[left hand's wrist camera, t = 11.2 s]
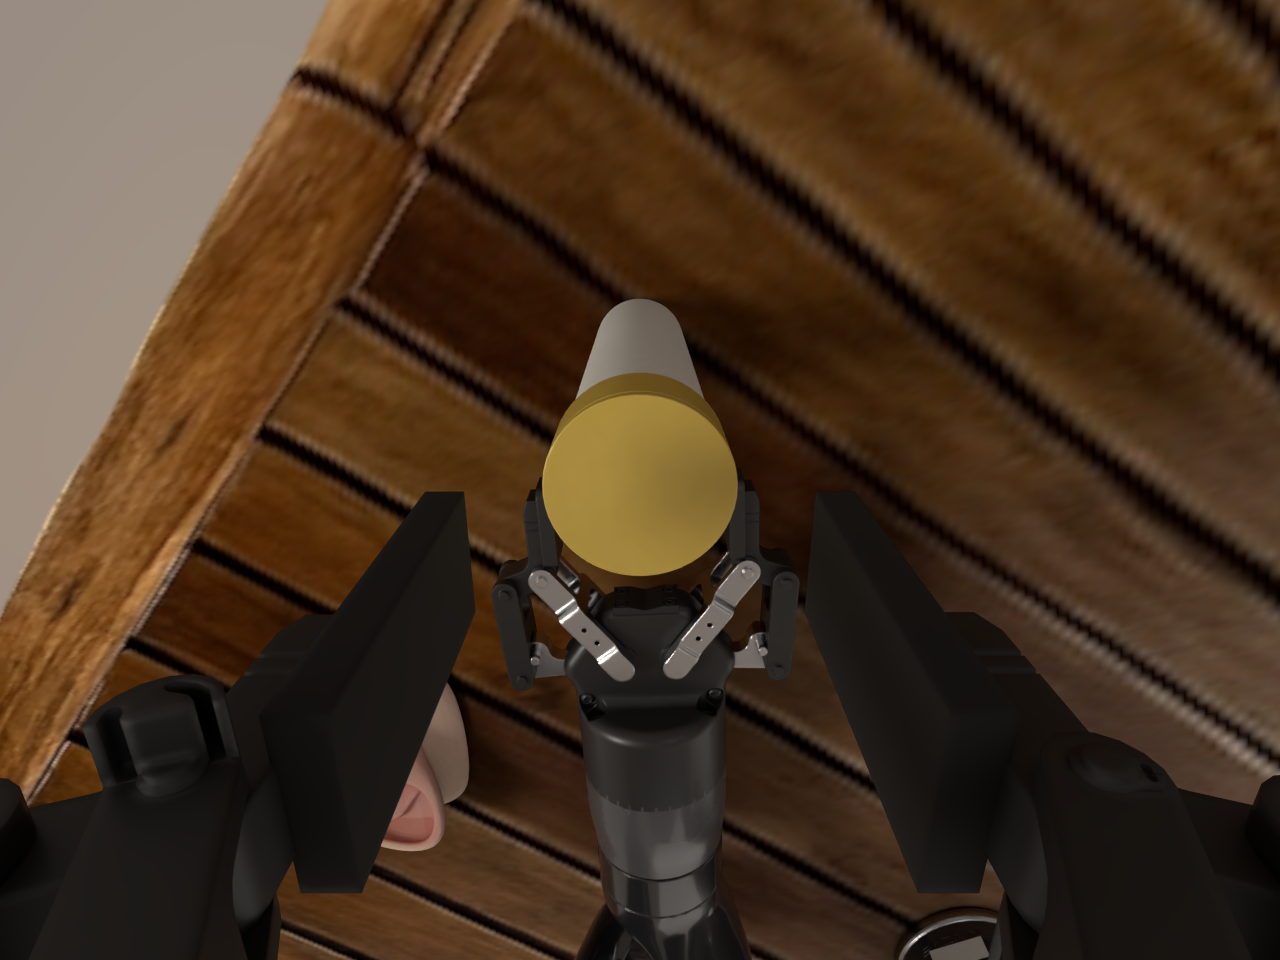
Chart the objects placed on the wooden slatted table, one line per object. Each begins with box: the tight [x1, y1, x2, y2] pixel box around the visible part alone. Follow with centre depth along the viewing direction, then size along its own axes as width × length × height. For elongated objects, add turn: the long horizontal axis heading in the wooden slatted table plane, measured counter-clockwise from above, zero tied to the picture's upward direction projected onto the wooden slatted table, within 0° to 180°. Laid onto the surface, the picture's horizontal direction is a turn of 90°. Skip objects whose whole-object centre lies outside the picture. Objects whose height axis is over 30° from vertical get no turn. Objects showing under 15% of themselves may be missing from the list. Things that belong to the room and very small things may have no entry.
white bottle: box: [576, 299, 704, 399], centre depth 27 cm, size 4×4×20 cm
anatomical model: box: [381, 683, 469, 851], centre depth 43 cm, size 13×4×12 cm
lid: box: [542, 373, 738, 576], centre depth 19 cm, size 5×5×2 cm
